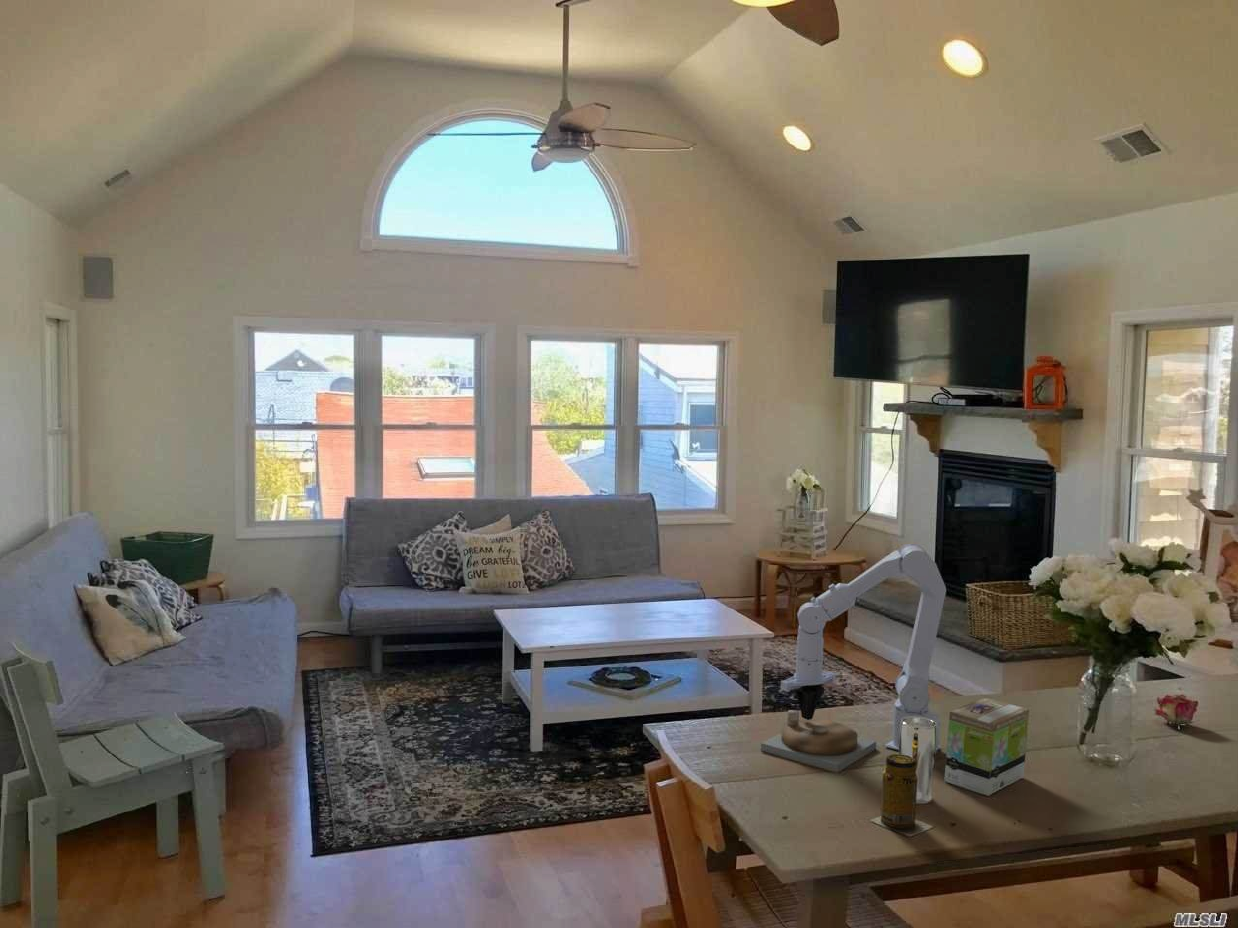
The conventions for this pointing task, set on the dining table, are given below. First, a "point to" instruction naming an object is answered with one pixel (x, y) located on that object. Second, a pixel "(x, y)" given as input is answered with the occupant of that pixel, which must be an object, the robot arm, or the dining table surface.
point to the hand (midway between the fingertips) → (807, 718)
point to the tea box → (986, 745)
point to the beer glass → (920, 751)
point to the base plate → (821, 761)
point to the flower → (1176, 709)
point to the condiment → (900, 796)
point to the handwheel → (818, 736)
